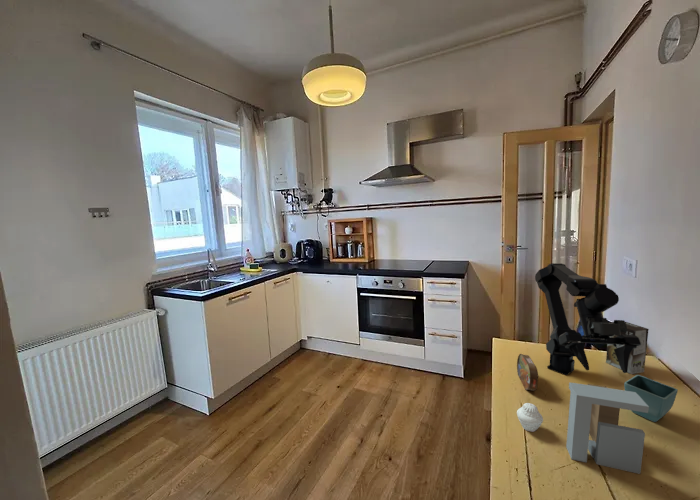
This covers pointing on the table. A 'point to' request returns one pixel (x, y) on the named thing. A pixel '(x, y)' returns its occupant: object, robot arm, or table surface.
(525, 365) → the tin
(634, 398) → the grey gallows bracket
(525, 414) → the muffin
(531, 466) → the table surface
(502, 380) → the table surface
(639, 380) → the flower pot
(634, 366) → the coffee box
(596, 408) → the brown wooden block
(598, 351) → the table surface
